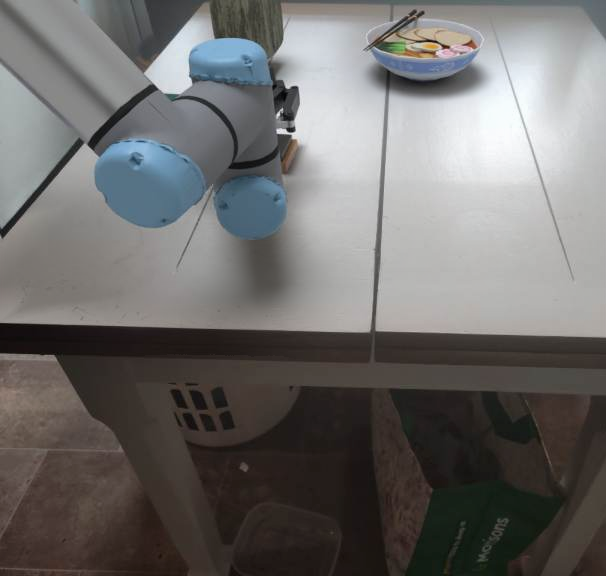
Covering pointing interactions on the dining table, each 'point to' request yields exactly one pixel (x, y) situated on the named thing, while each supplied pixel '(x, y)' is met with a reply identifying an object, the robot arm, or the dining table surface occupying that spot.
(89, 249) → the dining table surface
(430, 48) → the ramen bowl
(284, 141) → the whetstone on wooden base
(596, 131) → the dining table surface
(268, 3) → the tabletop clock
